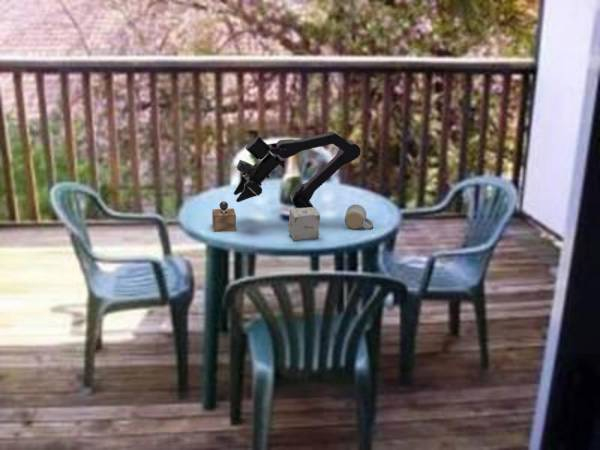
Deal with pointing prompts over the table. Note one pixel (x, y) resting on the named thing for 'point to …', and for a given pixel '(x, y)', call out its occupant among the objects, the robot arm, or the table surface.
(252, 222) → the table surface
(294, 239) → the beige cardboard box
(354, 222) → the ceramic mug
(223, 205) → the black ball knob
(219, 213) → the wooden box
